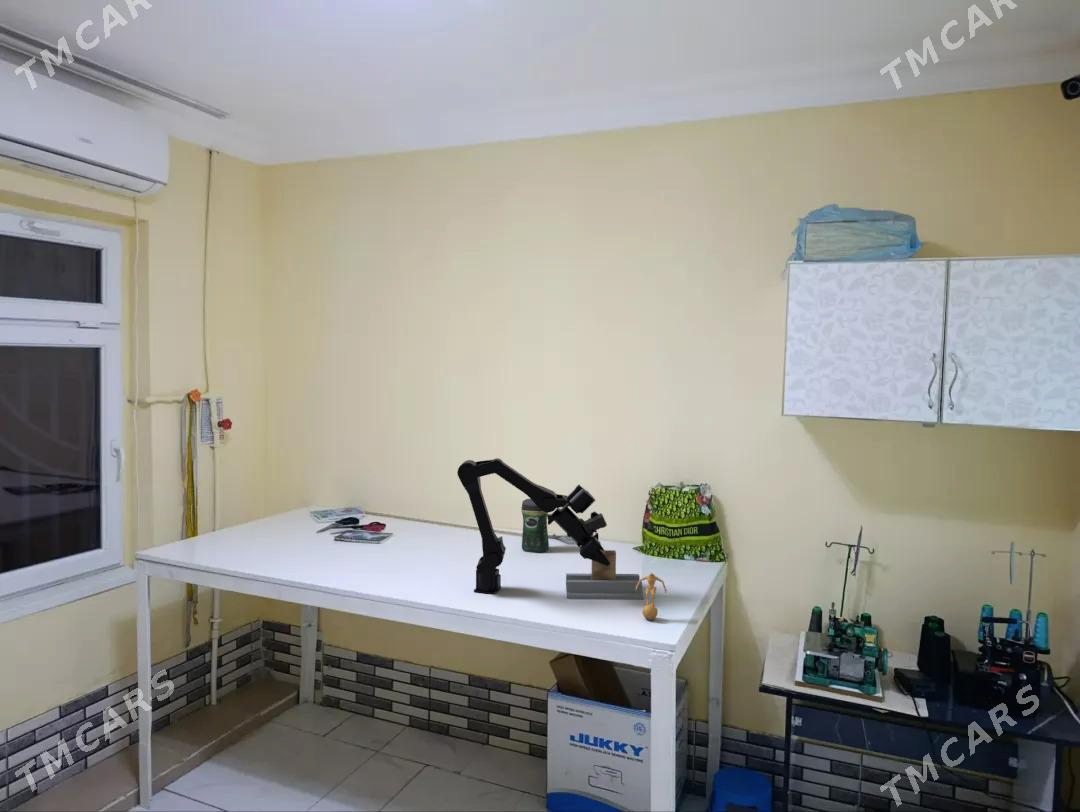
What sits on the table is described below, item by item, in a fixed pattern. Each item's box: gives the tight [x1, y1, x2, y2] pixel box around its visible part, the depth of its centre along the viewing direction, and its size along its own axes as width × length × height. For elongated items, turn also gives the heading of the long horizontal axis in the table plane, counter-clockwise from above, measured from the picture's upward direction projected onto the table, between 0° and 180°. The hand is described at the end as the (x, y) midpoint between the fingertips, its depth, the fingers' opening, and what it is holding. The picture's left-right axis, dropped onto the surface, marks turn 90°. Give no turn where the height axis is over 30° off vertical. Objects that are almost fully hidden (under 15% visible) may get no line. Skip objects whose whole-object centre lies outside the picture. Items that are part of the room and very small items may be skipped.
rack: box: [565, 572, 644, 600], centre depth 214 cm, size 22×14×4 cm, turn 89°
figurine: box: [635, 572, 667, 621], centre depth 191 cm, size 8×6×12 cm
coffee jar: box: [520, 498, 550, 553], centre depth 260 cm, size 10×8×19 cm
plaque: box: [591, 549, 617, 580], centre depth 214 cm, size 7×2×11 cm, turn 89°
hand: (608, 561), depth 213 cm, fingers open, 7 cm apart
